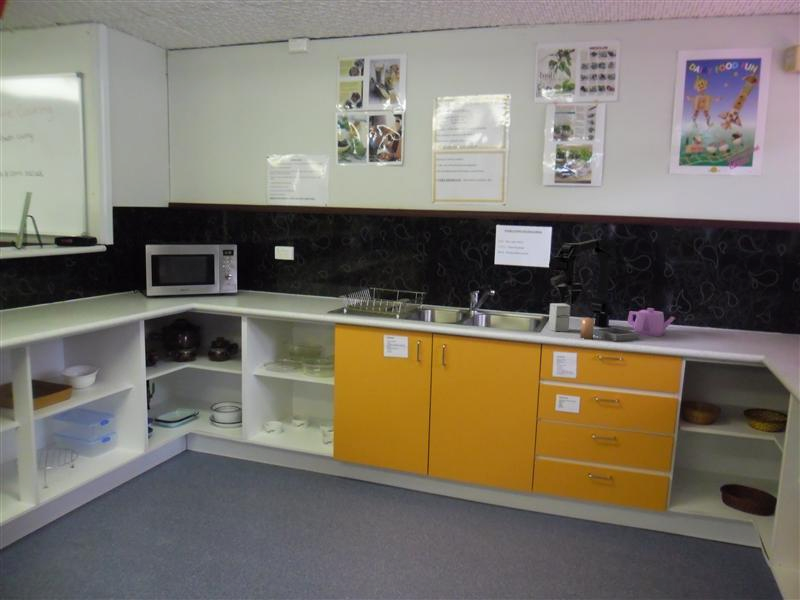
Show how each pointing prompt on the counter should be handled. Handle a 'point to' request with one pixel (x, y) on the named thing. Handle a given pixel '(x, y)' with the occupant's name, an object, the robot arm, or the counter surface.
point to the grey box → (559, 317)
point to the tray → (616, 334)
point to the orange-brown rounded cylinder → (587, 328)
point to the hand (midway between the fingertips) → (566, 302)
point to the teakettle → (649, 322)
